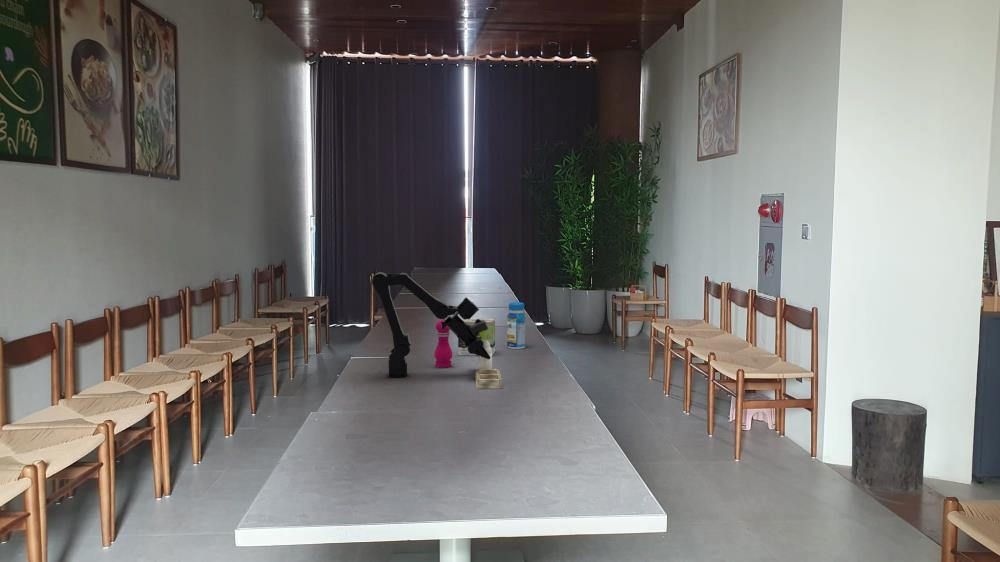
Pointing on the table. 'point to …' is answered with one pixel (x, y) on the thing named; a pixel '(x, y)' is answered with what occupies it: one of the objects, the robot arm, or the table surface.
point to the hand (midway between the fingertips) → (489, 357)
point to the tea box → (486, 336)
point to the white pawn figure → (483, 361)
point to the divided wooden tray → (488, 379)
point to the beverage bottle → (516, 326)
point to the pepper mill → (443, 346)
